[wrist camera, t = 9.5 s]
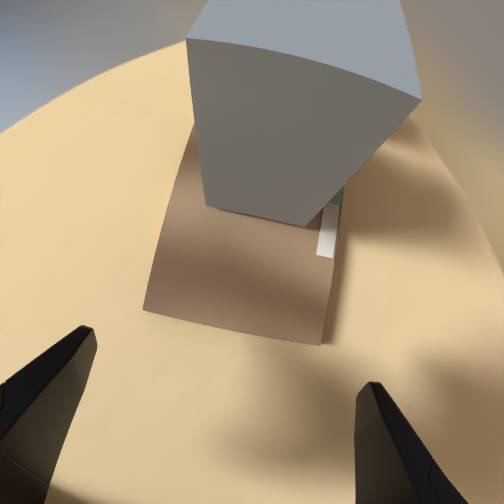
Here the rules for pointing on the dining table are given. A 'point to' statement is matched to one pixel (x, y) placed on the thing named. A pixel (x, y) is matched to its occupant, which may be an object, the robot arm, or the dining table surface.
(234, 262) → the block on stand
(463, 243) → the dining table surface
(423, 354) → the dining table surface
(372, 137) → the blue-gray square block
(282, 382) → the dining table surface
